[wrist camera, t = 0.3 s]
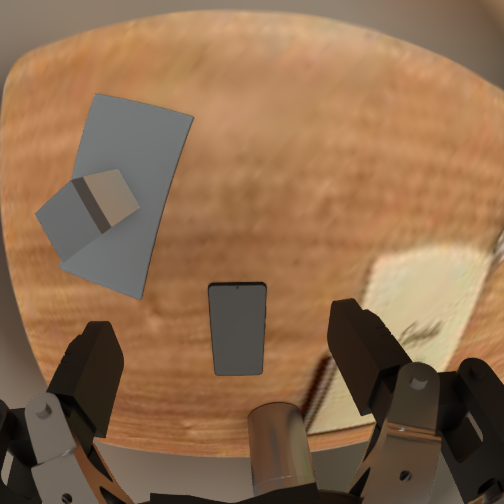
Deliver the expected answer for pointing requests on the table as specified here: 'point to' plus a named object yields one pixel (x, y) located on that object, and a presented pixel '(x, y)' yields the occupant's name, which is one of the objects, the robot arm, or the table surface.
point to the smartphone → (237, 327)
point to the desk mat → (138, 180)
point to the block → (85, 211)
